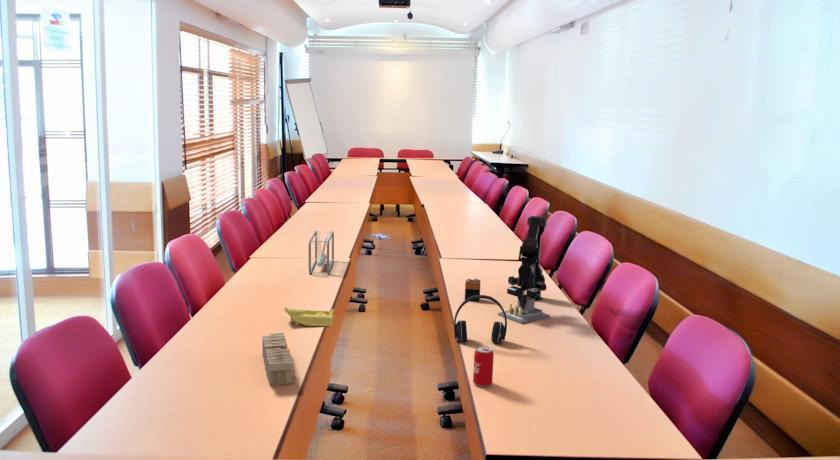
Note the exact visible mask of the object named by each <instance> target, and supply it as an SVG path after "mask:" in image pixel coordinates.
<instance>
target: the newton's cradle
mask: <svg viewBox="0 0 840 460" xmlns="http://www.w3.org/2000/svg"><path fill="white" fill-rule="evenodd" d="M328 236H329V237H328ZM330 242H331V260H330ZM312 243H314V261H313V264H312V253H311V252H312V247H311V246H312ZM322 243H323V247H322V246H319V245H321V244H322ZM318 246H319V247H318ZM320 250H321V252H318V251H320ZM325 250H326V253H325ZM334 250H335V231H334V230H331V231H330V232H327V233H326V236H325V237H324V240H322V238H321V235H320V231H317V230H315V231H314V232H313V234H312V235H311V237H310V238H309V240H308V274H327V275H329V274H330V272H331V269H332V267H333V265H334V261H335V251H334ZM325 262H326V272H321V271H317V272H315V271H314V272H313V270H314V268H315V265H316V266H317V267H318V268H323V267H324V265H325Z"/></svg>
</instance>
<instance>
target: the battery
mask: <svg viewBox="0 0 840 460" xmlns="http://www.w3.org/2000/svg"><path fill="white" fill-rule="evenodd" d="M475 295H481V280H480V279H479V278H474V279H471V278H467V279H466V280H465V283H464V301H465V300H466V299H468V298H469V297H471V296H475ZM470 302H480V299H473V300H471V301H470Z"/></svg>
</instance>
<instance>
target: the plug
mask: <svg viewBox="0 0 840 460" xmlns="http://www.w3.org/2000/svg"><path fill="white" fill-rule="evenodd" d="M535 303H536V302H535V299H533V298H531V297H527V299H526V303H525V306H524V309H522V312H523V313H526V314H530V313H534V307H535V305H536V304H535ZM517 307H518V308H517V310H518V311H519V307H521V306H520V303H519V300H518V299H517Z"/></svg>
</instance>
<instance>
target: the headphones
mask: <svg viewBox="0 0 840 460" xmlns="http://www.w3.org/2000/svg"><path fill="white" fill-rule="evenodd" d="M473 299H485V300H490V301H492V302H493V303H495V304H496V305H497V306H498V307H499V308H500V309H501V312H503V314H504V317H505V318H504V317H503V318H504V323H503V322H502V321H494V322H493V326H492V328H491V338H490V339H491V342H492V343H496V344H500V343H501V342H502V341H505V339H506V335H507V328H508V321H507V320H508V319H507V318H506V314H505V311H506V310H504V308H503V306H502V304H501V303H500V302H499V301H498V300H497V299H495V298H494V297H492V296H490V295H486V294H485V295H484V294H480V295H475V296H471V297H469V298H468V299H466V300H465V299H464V301H463V302H462V303H461V304H460V305H459V307H458V308H457V310H456V313H455V315H454V317H453V318H454V319H453V330H454V339H455V340H456V339H457V341H458V342H461V343H462V342H467V341H468V330H467V328H468V327H467V321H466V320H458V321H457V318H458V315H459V312H460V311H461V309H462V308H463V307H464V306H465V305H466V304H467V303H469V302H472V301H471V300H473Z"/></svg>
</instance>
